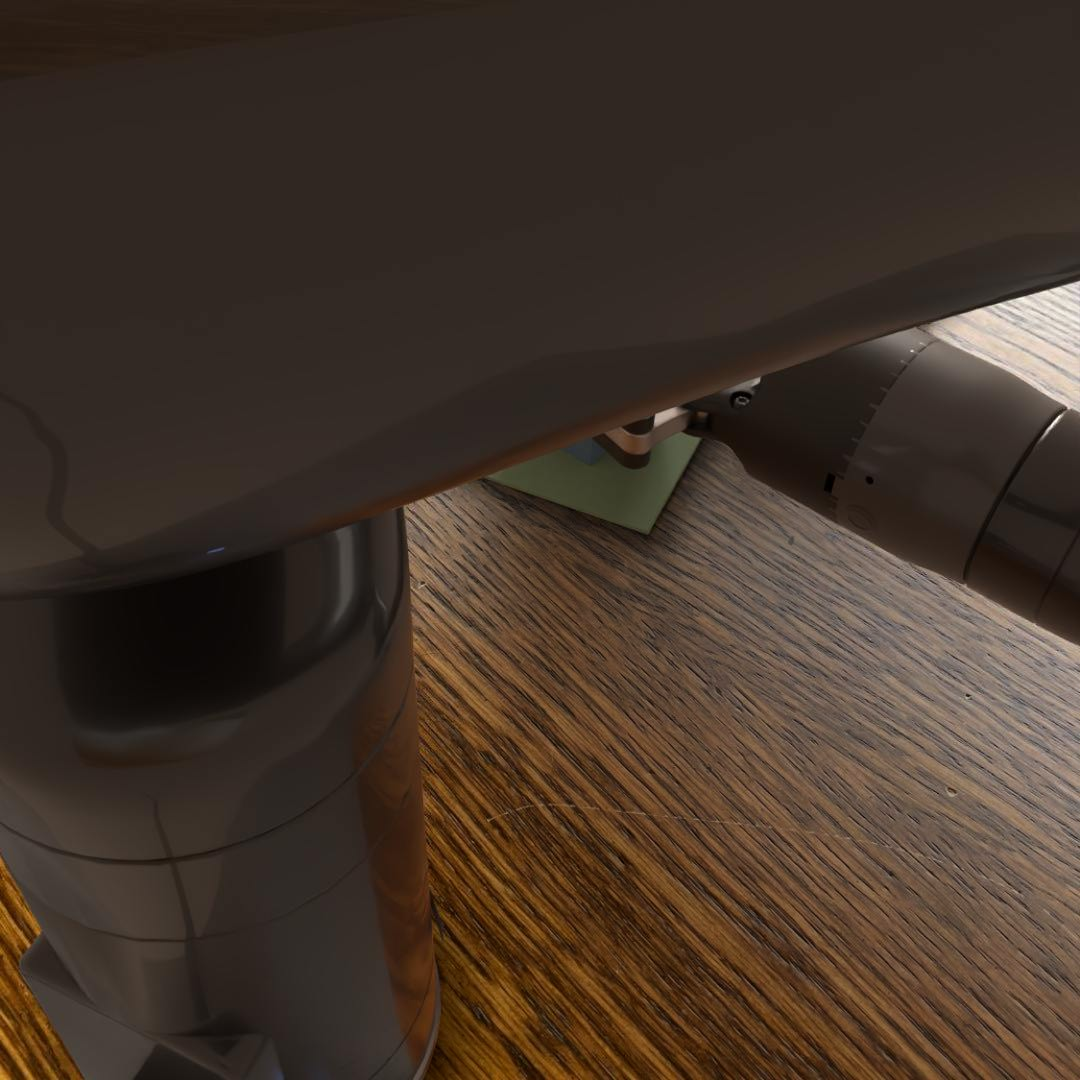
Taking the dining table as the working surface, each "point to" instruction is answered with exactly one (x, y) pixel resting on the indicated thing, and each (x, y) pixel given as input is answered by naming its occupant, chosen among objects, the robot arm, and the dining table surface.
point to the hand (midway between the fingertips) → (541, 258)
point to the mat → (606, 482)
